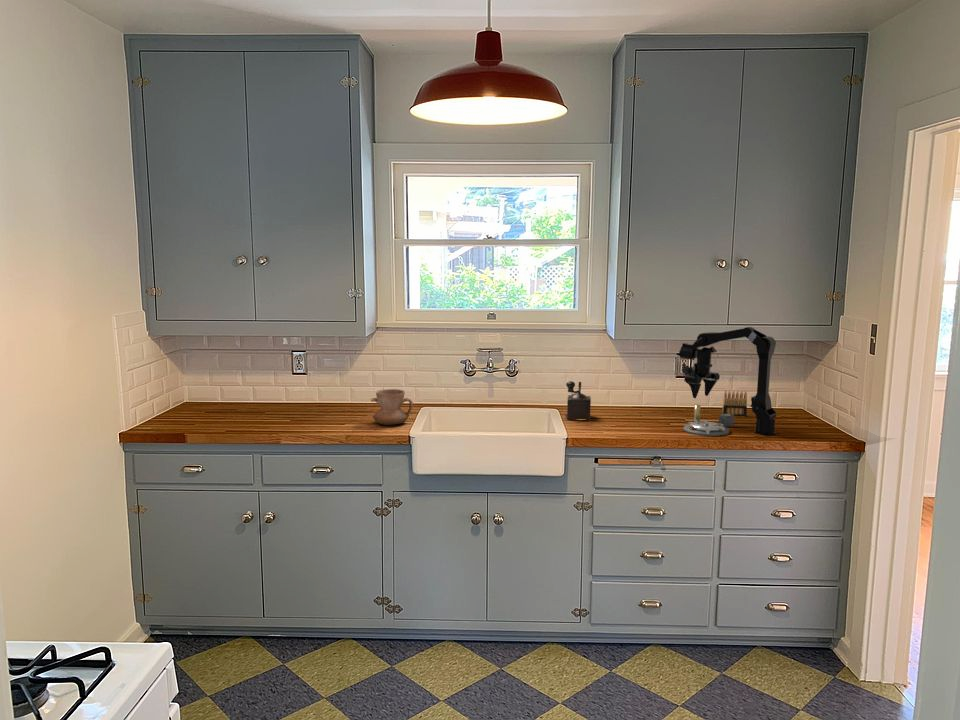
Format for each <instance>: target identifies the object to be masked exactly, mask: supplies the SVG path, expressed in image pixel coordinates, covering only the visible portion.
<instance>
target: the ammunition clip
mask: <svg viewBox="0 0 960 720" xmlns="http://www.w3.org/2000/svg"><path fill="white" fill-rule="evenodd" d="M728 413H729V414H733V415H734V416H747V417H748V396H747V390H745V391H744V393H743V390H741V391H740V393H739V390H736V393H735V391H734V390H732V392H731V391H730V390H728V392H727V390H726V389H725V390H724V392H723V399H722V409H721V415H722V414H728Z"/></svg>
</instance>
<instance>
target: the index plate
mask: <svg viewBox="0 0 960 720" xmlns="http://www.w3.org/2000/svg"><path fill="white" fill-rule="evenodd" d="M689 426H690V425H688V424H685V425H683V431H684V432H685V433H688V434H692V435H694V436H695V435H696V436H700V437H701V436H703V437H721V436H720V435H724V436H727V435H729V434H730V429H729V427H723V428H725V431H716V432H705V431H699V430H695V429H689Z"/></svg>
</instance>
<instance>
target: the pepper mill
mask: <svg viewBox="0 0 960 720" xmlns="http://www.w3.org/2000/svg"><path fill="white" fill-rule="evenodd" d="M565 386H566V387H567V392H568V393H571V395H567V406H566V408H567V409H566V414H565V418H566V417H567V418H566V420H568V419H586V420H591V407H592V406H591V405H592V404H591V402H592V400H591V399H592V398H591V396H590V395H586V394H584V393H581V392H582V391H581V390H582V381H578V385H577V387H578V389H577V390H574V388H575V387H576V383H575V382H574V381H571V380H570V381H568V382H566V384H565Z"/></svg>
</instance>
